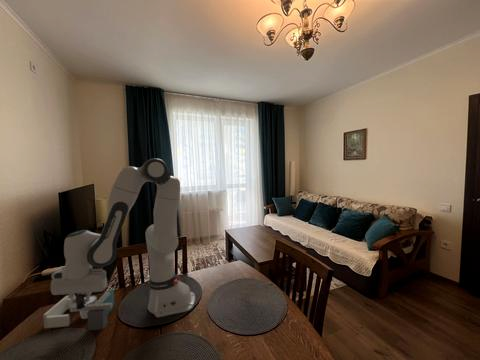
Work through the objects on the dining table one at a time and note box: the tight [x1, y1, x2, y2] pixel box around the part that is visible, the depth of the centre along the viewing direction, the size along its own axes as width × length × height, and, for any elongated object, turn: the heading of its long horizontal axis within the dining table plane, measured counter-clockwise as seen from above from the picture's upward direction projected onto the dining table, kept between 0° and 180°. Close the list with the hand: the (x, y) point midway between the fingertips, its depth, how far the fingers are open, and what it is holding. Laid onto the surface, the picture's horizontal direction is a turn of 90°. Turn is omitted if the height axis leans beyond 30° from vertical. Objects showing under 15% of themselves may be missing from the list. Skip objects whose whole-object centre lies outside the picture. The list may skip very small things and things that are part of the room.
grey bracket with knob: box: [69, 289, 115, 316], centre depth 94 cm, size 16×15×15 cm
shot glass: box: [79, 295, 98, 320], centre depth 97 cm, size 7×7×7 cm
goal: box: [43, 295, 76, 329], centre depth 96 cm, size 9×13×6 cm
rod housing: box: [87, 309, 109, 332], centre depth 89 cm, size 6×3×8 cm, turn 96°
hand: (81, 302), depth 88 cm, fingers closed on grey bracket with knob, 3 cm apart
